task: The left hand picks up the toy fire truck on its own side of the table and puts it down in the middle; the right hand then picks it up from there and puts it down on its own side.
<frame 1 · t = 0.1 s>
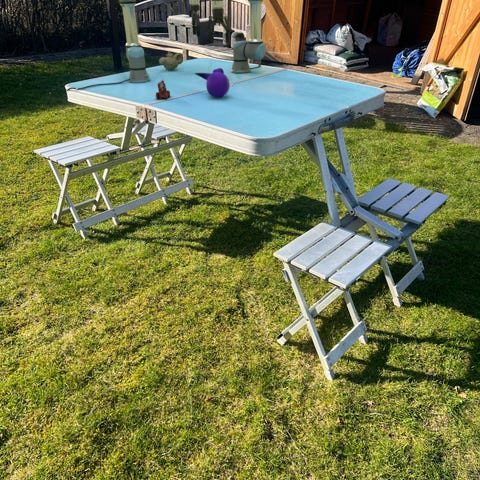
left hand: (196, 35, 349), 28 cm above the table, tool pointing down, fingers open, 13 cm apart
right hand: (219, 42, 309), 28 cm above the table, tool pointing down, fingers open, 13 cm apart
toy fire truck: (163, 97, 290), on the table
teapot: (171, 70, 377), on the table
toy: (214, 95, 293), on the table
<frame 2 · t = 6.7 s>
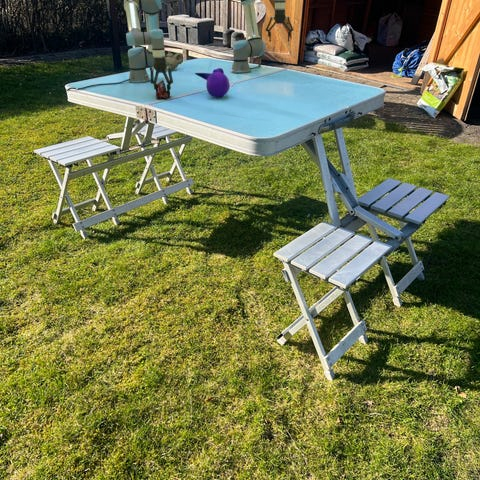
left hand: (163, 94, 289), 2 cm above the table, tool pointing down, fingers closed on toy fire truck, 7 cm apart
right hand: (279, 41, 330), 25 cm above the table, tool pointing down, fingers open, 13 cm apart
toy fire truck: (163, 97, 290), on the table, touching left hand
everything else where it was.
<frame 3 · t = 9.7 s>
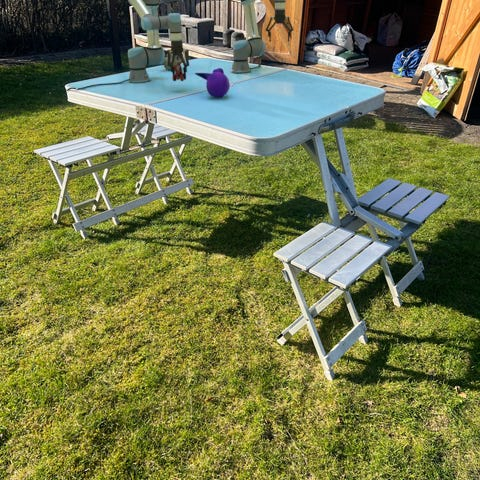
left hand: (179, 77, 301), 9 cm above the table, tool pointing down, fingers closed on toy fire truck, 7 cm apart
right hand: (279, 41, 330), 25 cm above the table, tool pointing down, fingers open, 13 cm apart
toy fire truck: (179, 80, 302), point 7 cm above the table, touching left hand
everything else where it was.
when the left hand's fingers open (4 cm above the table, at t = 13.0 s): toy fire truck drops 2 cm, on the table.
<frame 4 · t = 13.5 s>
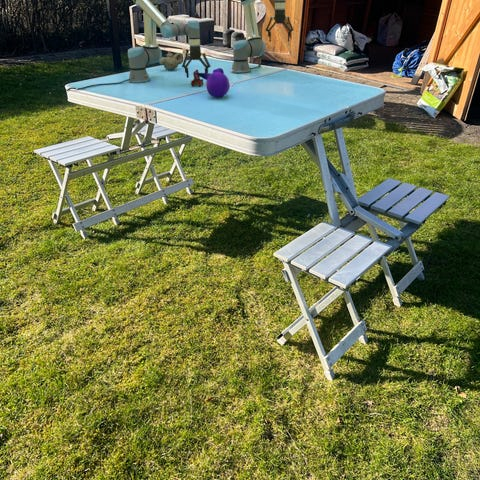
left hand: (196, 77, 319), 5 cm above the table, tool pointing down, fingers open, 13 cm apart
right hand: (279, 41, 330), 25 cm above the table, tool pointing down, fingers open, 13 cm apart
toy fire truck: (197, 85, 322), on the table
everything else where it was.
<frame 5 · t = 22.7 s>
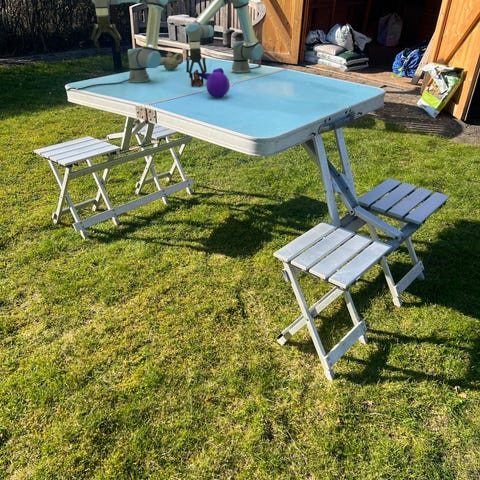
left hand: (108, 51, 295), 26 cm above the table, tool pointing down, fingers open, 13 cm apart
right hand: (197, 82, 321), 2 cm above the table, tool pointing down, fingers closed on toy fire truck, 7 cm apart
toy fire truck: (197, 85, 322), on the table, touching right hand
everything else where it was.
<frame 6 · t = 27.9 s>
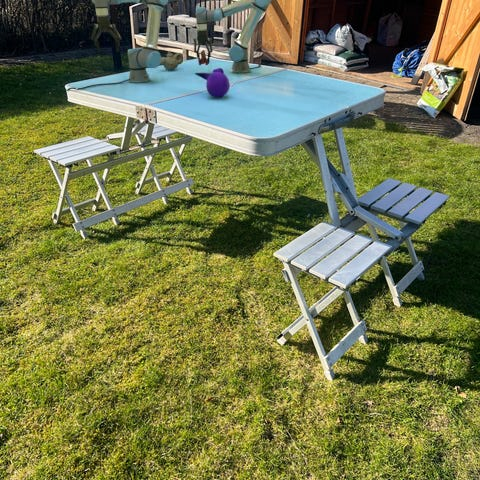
left hand: (108, 51, 295), 26 cm above the table, tool pointing down, fingers open, 13 cm apart
right hand: (204, 62, 353), 9 cm above the table, tool pointing down, fingers closed on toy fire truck, 7 cm apart
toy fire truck: (204, 64, 354), point 7 cm above the table, touching right hand
everything else where it was.
when the right hand's fingers open (4 cm above the table, at t = 33.3 s): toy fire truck drops 2 cm, on the table.
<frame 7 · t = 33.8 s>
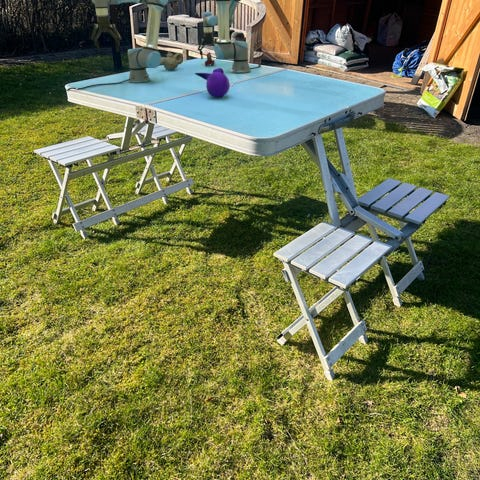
left hand: (108, 51, 295), 26 cm above the table, tool pointing down, fingers open, 13 cm apart
right hand: (209, 59, 391), 5 cm above the table, tool pointing down, fingers open, 13 cm apart
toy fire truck: (209, 65, 394), on the table
everything else where it was.
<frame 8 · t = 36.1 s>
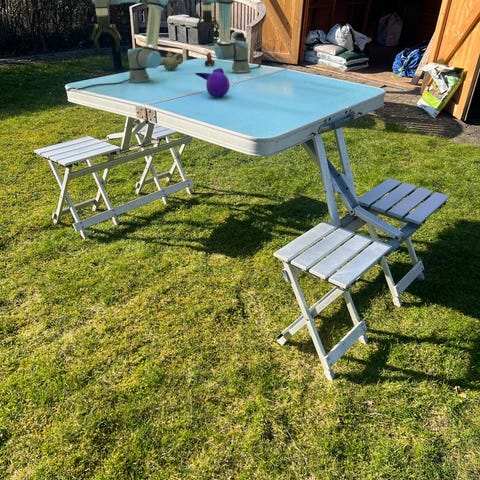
left hand: (108, 51, 295), 26 cm above the table, tool pointing down, fingers open, 13 cm apart
right hand: (208, 38, 383), 22 cm above the table, tool pointing down, fingers open, 13 cm apart
nothing on the table moved.
at the end: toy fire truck inside the target area (0.1 cm from its centre), on the table; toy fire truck tilted 0°; the two hands never held the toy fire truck at the same time; the left hand is holding nothing; the right hand is holding nothing; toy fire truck at rest at the end (0.0 cm/s) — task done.
